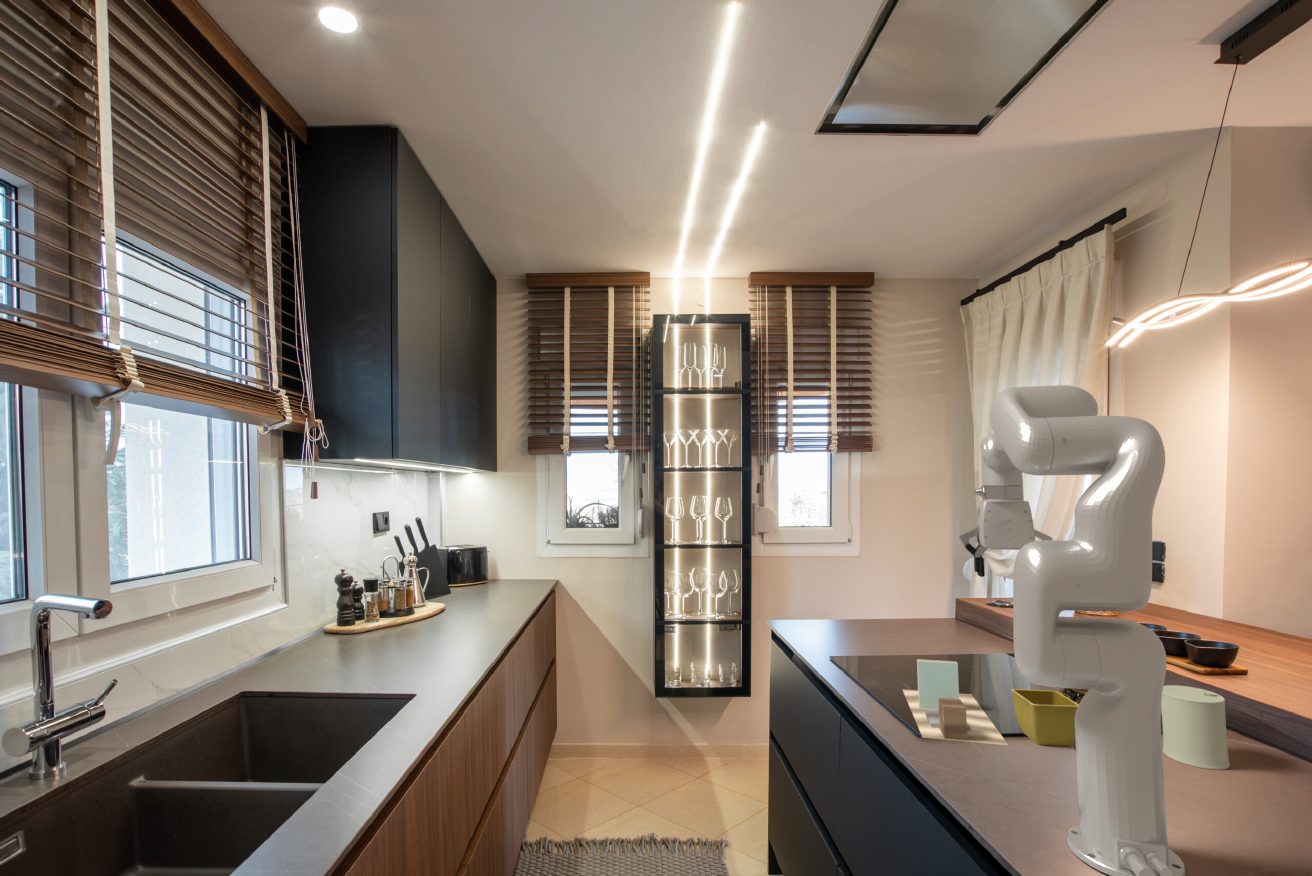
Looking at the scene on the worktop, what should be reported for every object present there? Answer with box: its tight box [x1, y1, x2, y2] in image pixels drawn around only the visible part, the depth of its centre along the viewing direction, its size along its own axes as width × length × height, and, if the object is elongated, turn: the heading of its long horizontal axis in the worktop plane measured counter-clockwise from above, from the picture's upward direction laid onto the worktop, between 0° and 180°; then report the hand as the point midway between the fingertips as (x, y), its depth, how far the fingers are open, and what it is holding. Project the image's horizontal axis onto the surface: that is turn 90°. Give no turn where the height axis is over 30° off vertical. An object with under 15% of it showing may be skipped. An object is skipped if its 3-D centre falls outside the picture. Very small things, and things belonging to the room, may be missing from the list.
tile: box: [916, 658, 960, 709], centre depth 134 cm, size 2×8×10 cm, turn 76°
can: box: [1161, 684, 1231, 771], centre depth 112 cm, size 9×9×12 cm
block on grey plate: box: [925, 698, 969, 740], centre depth 124 cm, size 12×7×6 cm, turn 166°
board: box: [901, 688, 1009, 746], centre depth 130 cm, size 28×15×1 cm, turn 166°
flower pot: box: [1011, 688, 1079, 747], centre depth 118 cm, size 9×9×9 cm
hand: (1006, 576), depth 128 cm, fingers open, 9 cm apart
